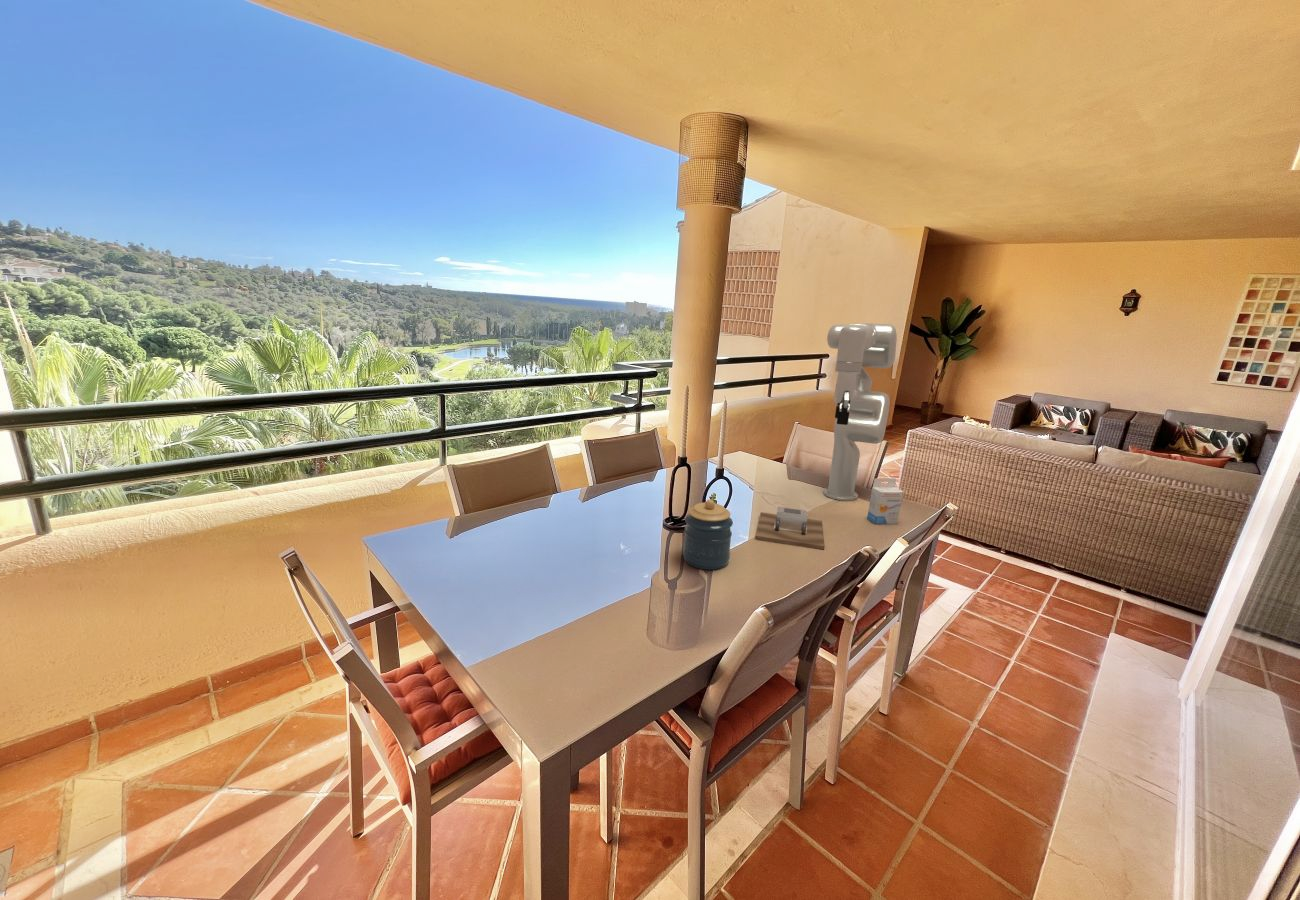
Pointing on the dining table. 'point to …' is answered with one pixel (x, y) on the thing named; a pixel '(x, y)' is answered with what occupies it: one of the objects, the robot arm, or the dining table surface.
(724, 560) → the canister
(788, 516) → the drive
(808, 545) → the pin tray
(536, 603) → the dining table surface
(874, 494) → the ink box
